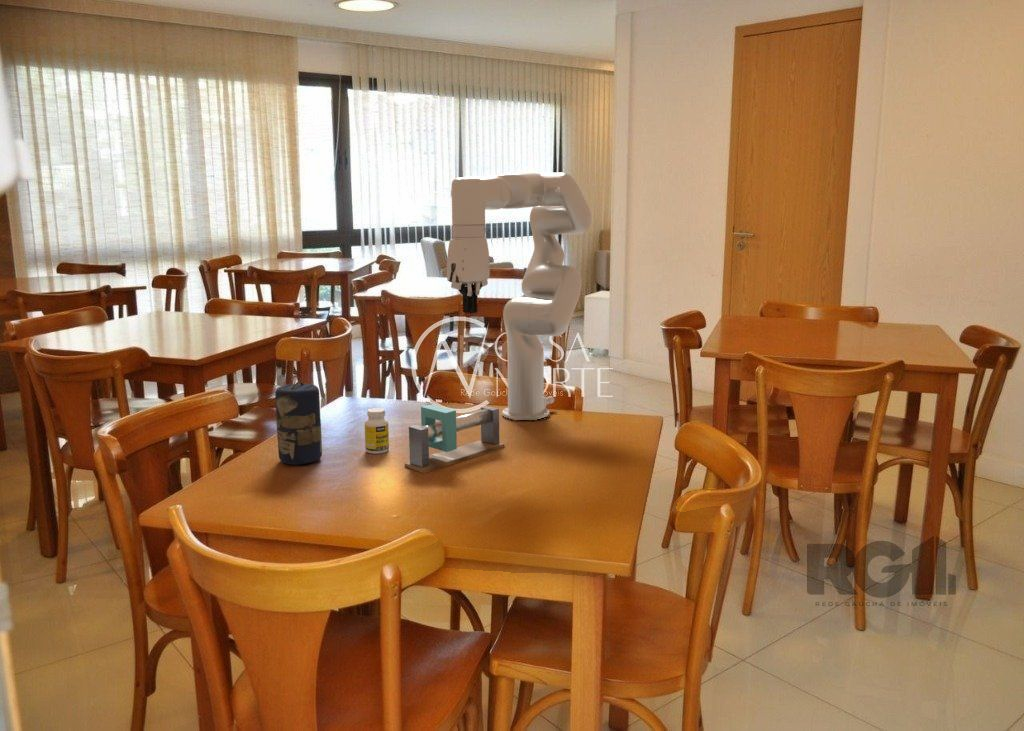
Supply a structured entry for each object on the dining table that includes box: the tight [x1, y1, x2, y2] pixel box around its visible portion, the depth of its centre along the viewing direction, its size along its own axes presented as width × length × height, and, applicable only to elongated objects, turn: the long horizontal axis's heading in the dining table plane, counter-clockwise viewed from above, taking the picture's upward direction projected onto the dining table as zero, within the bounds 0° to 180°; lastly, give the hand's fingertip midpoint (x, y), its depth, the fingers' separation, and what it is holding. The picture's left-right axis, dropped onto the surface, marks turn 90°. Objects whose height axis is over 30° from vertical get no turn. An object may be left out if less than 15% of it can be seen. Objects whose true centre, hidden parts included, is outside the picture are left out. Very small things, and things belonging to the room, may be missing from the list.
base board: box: [404, 439, 506, 474], centre depth 191 cm, size 25×6×1 cm, turn 137°
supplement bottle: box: [364, 407, 390, 455], centre depth 195 cm, size 5×5×10 cm
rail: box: [408, 405, 500, 468], centre depth 190 cm, size 24×4×9 cm, turn 137°
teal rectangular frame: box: [420, 404, 458, 452], centre depth 186 cm, size 3×8×9 cm, turn 47°
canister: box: [274, 381, 323, 465], centre depth 187 cm, size 10×10×18 cm
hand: (470, 312), depth 197 cm, fingers closed
